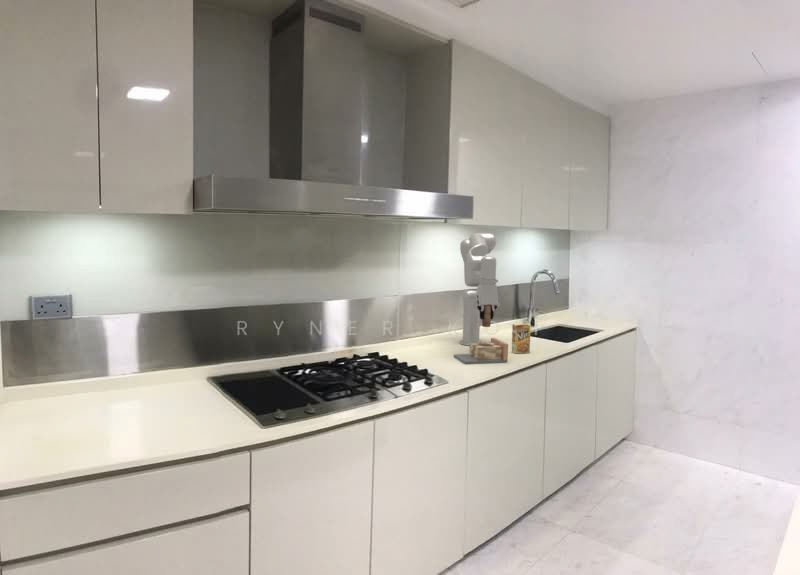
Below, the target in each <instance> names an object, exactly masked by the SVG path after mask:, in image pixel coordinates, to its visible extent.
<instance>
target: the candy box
mask: <svg viewBox="0 0 800 575" xmlns="http://www.w3.org/2000/svg"><path fill="white" fill-rule="evenodd" d="M511 325H512V326H511V328H512V329H511V331H512V332H511V333H512V334H511V353H513V354H530V350H531V324H529V323H512V324H511Z"/></svg>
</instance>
